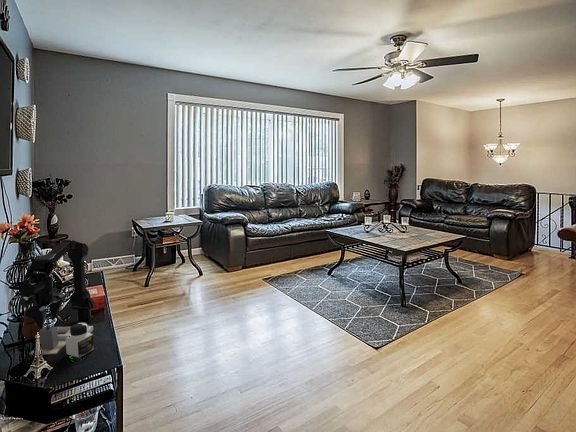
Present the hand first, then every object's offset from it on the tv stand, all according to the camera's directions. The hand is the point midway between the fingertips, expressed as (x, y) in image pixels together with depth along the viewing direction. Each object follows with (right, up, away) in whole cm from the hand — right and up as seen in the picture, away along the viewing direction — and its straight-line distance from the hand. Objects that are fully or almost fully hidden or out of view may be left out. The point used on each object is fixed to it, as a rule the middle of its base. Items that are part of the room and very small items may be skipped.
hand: (47, 323), depth 142 cm
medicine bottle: (+14, -12, -1) cm, 19 cm away
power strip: (0, -9, +13) cm, 16 cm away
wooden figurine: (-14, -10, +10) cm, 20 cm away
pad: (0, -11, +2) cm, 11 cm away
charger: (0, -10, +2) cm, 10 cm away
